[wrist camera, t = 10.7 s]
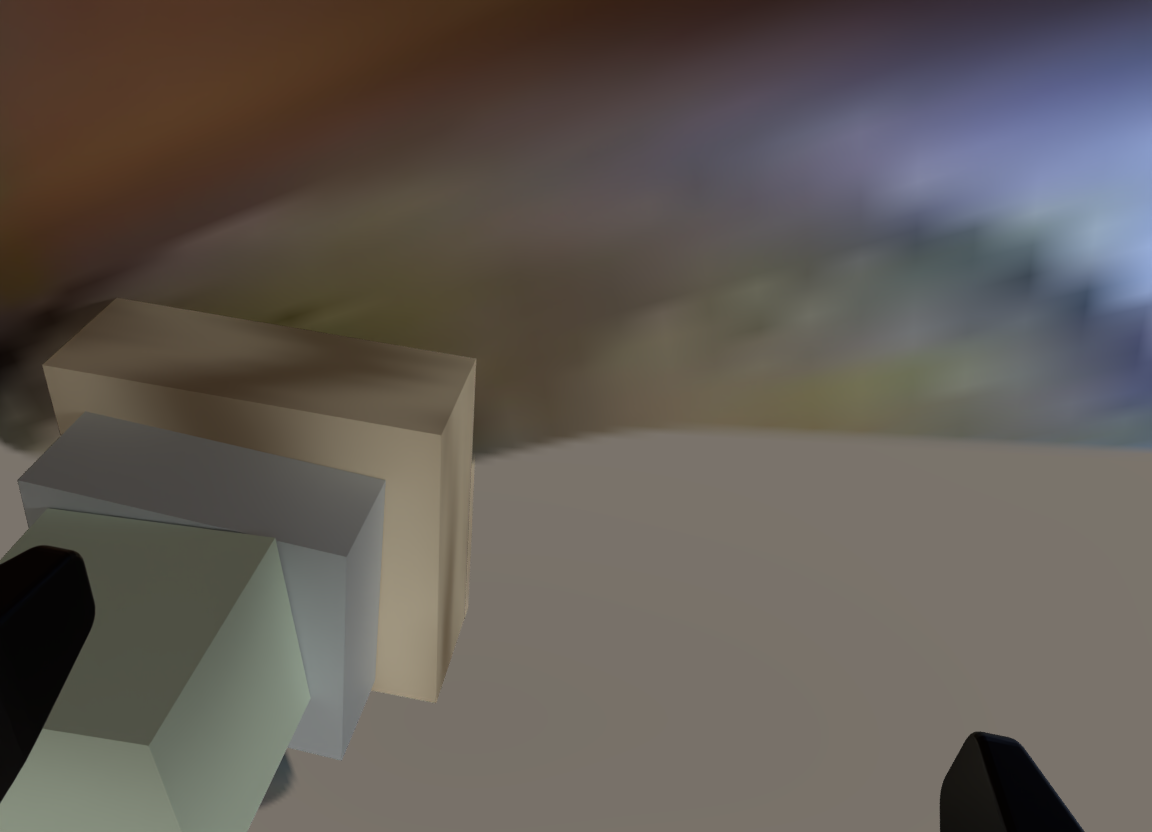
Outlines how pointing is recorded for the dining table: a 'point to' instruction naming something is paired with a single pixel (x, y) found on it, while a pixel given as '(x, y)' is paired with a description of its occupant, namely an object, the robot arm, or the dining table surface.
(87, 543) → the sage cube
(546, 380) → the dining table surface
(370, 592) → the slate slab
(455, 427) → the oak base block
